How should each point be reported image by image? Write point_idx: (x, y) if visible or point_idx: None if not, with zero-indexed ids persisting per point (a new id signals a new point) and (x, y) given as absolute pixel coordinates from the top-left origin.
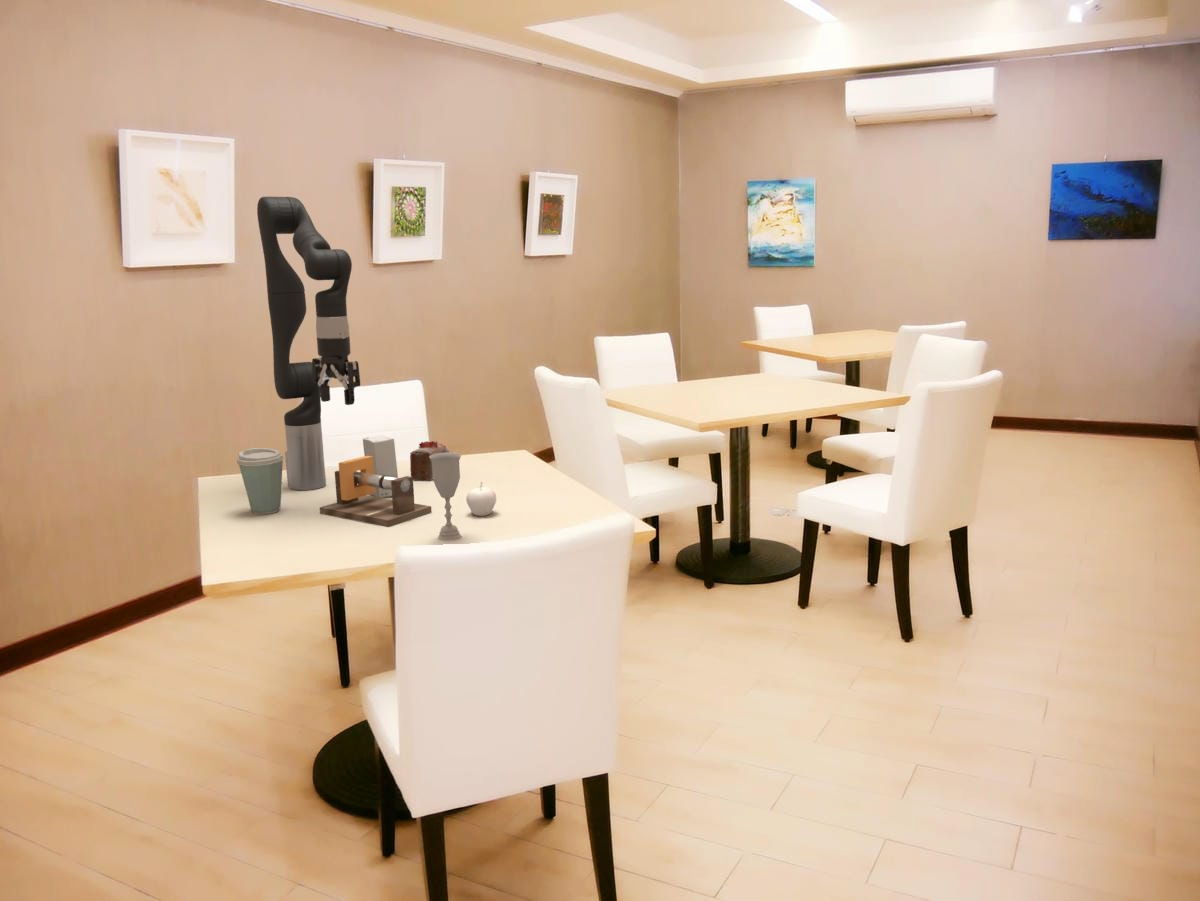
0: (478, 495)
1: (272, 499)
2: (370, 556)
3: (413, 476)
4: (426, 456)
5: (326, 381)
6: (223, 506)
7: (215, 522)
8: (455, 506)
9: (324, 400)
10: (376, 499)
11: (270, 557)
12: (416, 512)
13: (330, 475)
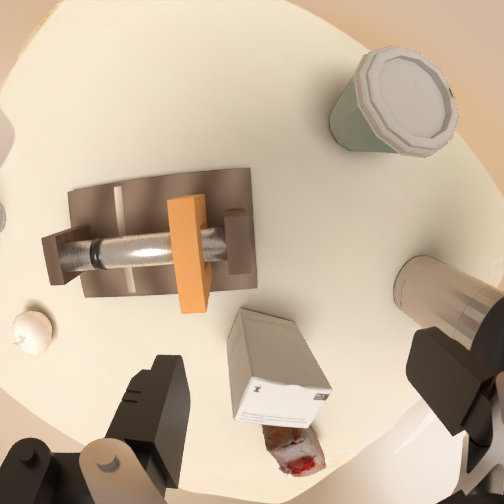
0: (14, 321)
1: (334, 113)
2: (15, 98)
3: None
4: (272, 444)
5: (482, 442)
6: None
7: (355, 47)
8: (95, 337)
9: (417, 338)
10: None
11: (114, 6)
12: None
13: None
